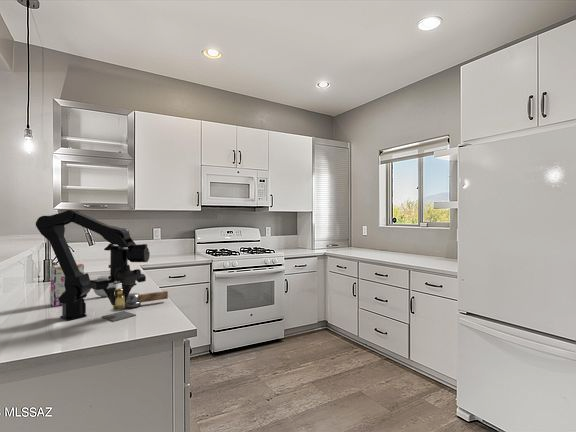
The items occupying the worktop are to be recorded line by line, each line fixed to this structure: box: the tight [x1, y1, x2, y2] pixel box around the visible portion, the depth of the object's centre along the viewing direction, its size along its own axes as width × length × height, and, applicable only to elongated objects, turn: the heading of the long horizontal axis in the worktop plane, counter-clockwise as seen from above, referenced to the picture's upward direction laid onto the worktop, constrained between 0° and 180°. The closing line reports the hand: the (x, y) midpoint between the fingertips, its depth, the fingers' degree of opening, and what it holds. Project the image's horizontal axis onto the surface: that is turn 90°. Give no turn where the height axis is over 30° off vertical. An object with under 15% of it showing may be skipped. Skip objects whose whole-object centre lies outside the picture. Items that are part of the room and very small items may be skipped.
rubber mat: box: [101, 310, 137, 322], centre depth 123 cm, size 8×8×1 cm
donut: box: [92, 274, 119, 298], centre depth 151 cm, size 10×3×10 cm, turn 125°
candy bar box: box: [49, 263, 85, 307], centre depth 140 cm, size 11×5×16 cm, turn 144°
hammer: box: [124, 290, 169, 309], centre depth 139 cm, size 17×6×4 cm, turn 126°
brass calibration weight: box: [112, 287, 125, 310], centre depth 123 cm, size 4×4×7 cm
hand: (118, 303), depth 123 cm, fingers closed on brass calibration weight, 4 cm apart
